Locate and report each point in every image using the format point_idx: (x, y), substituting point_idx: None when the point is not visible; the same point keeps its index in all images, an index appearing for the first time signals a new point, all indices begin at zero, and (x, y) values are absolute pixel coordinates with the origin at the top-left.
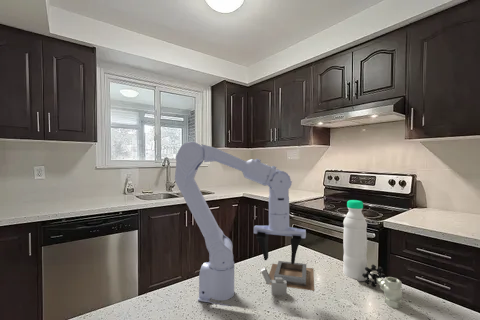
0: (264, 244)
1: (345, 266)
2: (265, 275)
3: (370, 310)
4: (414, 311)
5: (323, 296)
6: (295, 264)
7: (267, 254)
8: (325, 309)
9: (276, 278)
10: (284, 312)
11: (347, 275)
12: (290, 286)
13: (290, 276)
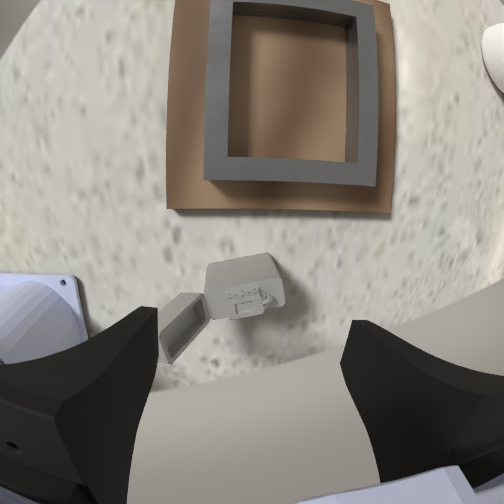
0: (128, 472)
1: None
2: (175, 344)
3: (497, 262)
4: None
5: (411, 218)
6: (316, 9)
7: (150, 343)
8: (400, 298)
9: (233, 313)
10: (269, 354)
11: (497, 77)
12: (291, 201)
13: (298, 168)
